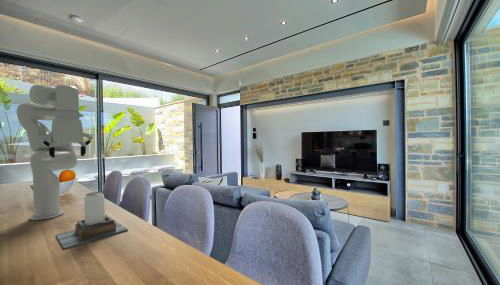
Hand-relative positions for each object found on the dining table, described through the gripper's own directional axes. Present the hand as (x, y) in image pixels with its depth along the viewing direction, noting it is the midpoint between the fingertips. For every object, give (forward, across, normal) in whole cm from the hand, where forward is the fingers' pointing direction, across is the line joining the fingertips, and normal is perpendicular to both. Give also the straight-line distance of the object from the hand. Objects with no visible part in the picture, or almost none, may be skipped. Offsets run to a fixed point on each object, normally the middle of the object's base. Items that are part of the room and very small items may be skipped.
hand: (68, 156), depth 92 cm
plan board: (+30, -6, +14) cm, 34 cm away
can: (+27, -6, +14) cm, 31 cm away
